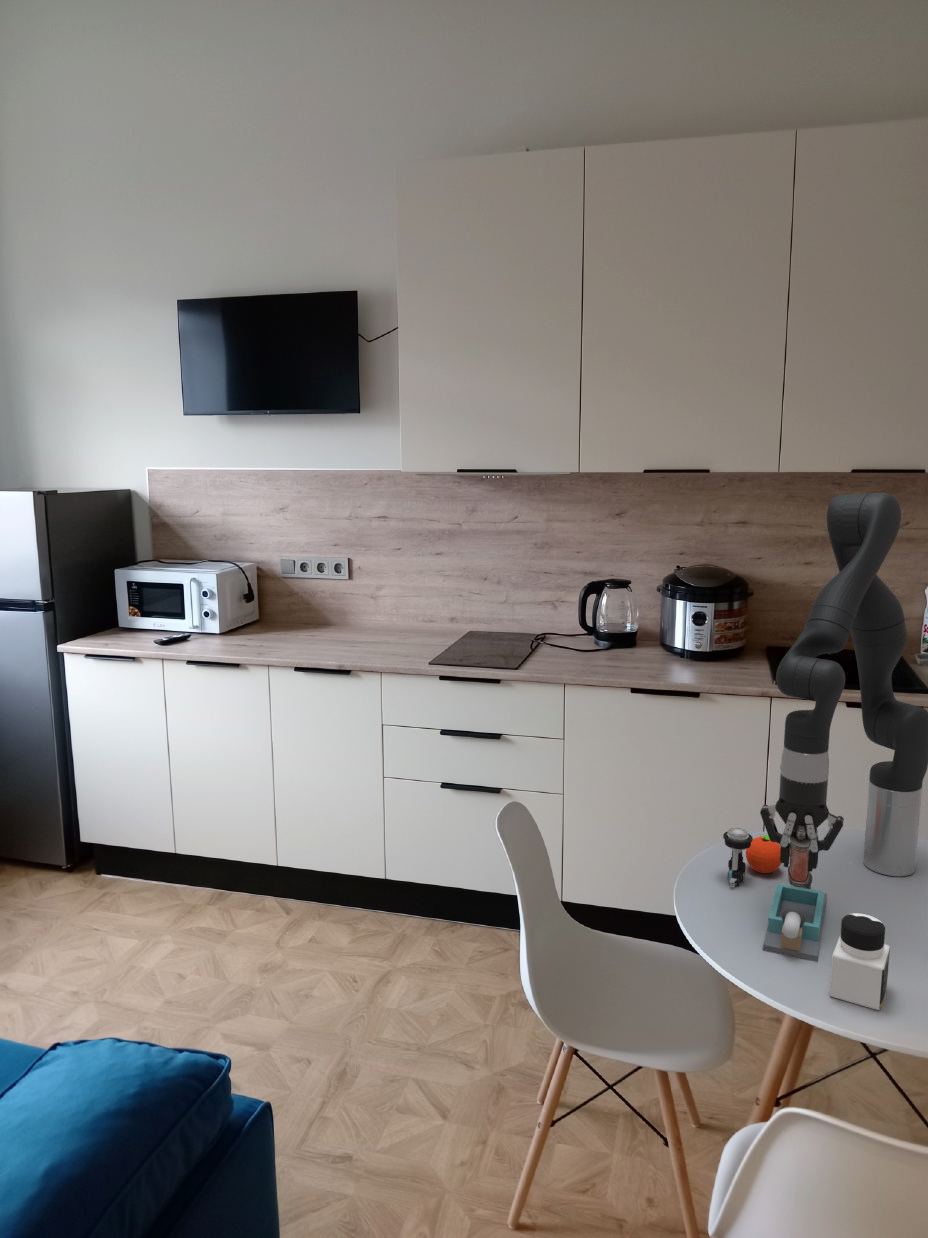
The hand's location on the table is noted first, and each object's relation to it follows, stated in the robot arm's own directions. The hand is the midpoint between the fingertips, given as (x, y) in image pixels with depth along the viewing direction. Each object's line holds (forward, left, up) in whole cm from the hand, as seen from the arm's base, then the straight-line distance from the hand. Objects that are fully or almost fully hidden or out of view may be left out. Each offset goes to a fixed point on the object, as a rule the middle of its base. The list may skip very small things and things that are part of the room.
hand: (798, 867), depth 155 cm
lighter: (0, 0, -2) cm, 2 cm away
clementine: (-18, -7, -11) cm, 22 cm away
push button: (-11, -12, -11) cm, 19 cm away
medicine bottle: (+17, +11, -11) cm, 23 cm away
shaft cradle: (0, 0, -11) cm, 11 cm away
